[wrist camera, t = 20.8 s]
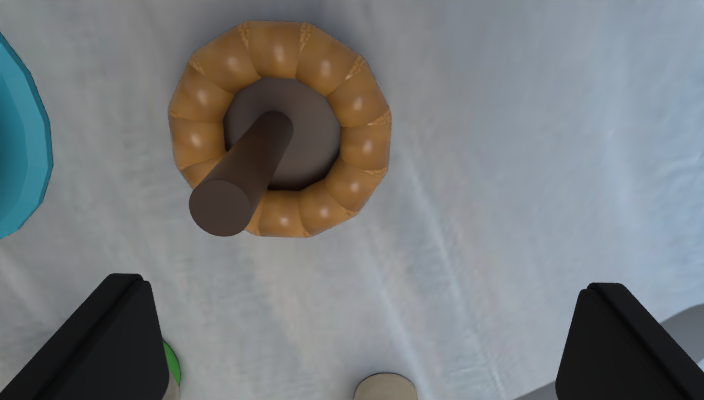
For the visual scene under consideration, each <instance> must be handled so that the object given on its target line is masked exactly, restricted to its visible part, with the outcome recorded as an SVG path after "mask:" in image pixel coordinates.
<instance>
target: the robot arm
mask: <svg viewBox="0 0 704 400" xmlns="http://www.w3.org/2000/svg"><path fill="white" fill-rule="evenodd" d="M169 379H170V373H169V368H168V363H167V358H166V354H165V349H164V344H163V339H162V335H161V330H160V325H159V321H158V316H157V311H156V307H155V302H154V297H153V292H152V288H151V284H150V283H149V281H144V280H143V278H142V276H141V275H139V274H122V273H113V274H110V275H108V276H107V277H106V278H105V279H104V280H103V282H102V283H101V284H100V285H99V286H98V287H97V288H96V289H95V290H94V291H93V292H92V294H91V295H90V296H89V297H88V298H87V299H86V300H85V301H84V302H83V303H82V304H81V306H80V307H79V308H78V309H77V310H76V311H75V312H74V313H73V314H72V315H71V316H70V317H69V319H68V320H67V321H66V322H65V323H64V324H63V325H62V326H61V327H60V328H59V329H58V331H57V332H56V333H55V334H54V335H53V336H52V337H51V338H50V339H49V340H48V341H47V343H46V344H45V345H44V346H43V347H42V348H41V349H40V350H39V351H38V352H37V353H36V355H35V356H34V357H33V358H32V359H31V360H30V361H29V362H28V363H27V364H26V365H25V367H24V368H23V369H22V370H21V371H20V372H19V373H18V374H17V375H16V376H15V377H14V378H13V380H12V381H11V382H10V383H9V384H8V385H7V386H6V387H5V388H4V389H3V390H2V392H1V393H0V400H162V399H163V397H164V395H165V393H166V390H167V388H168V385H169ZM555 388H556V394H557V397H558V400H704V372H703V371H702V370H701V369H700V368H699V367H698V365H697V364H696V363H695V362H694V361H693V360H692V359H691V358H690V357H689V356H688V355H687V354H686V352H685V351H684V350H683V349H682V348H681V347H680V346H679V345H678V344H677V343H676V342H675V340H674V339H673V338H672V337H671V336H670V335H669V334H668V333H667V332H666V331H665V330H664V328H663V327H662V326H661V325H660V324H659V323H658V322H657V321H656V320H655V319H654V317H653V316H652V315H651V314H650V313H649V312H648V311H647V310H646V309H645V308H644V307H643V306H642V304H641V303H640V302H639V301H638V300H637V299H636V298H635V297H634V296H633V295H632V294H631V292H630V291H629V290H628V289H627V288H626V287H625V286H624V285H622V284H620V283H590V284H589V285H588V287H587V289H583V290H581V291H580V293H579V295H578V299H577V303H576V307H575V310H574V314H573V318H572V322H571V325H570V329H569V333H568V337H567V340H566V344H565V348H564V352H563V355H562V359H561V363H560V367H559V370H558V374H557V378H556V383H555Z"/></svg>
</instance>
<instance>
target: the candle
mask: <svg viewBox="0 0 704 400" xmlns="http://www.w3.org/2000/svg"><path fill="white" fill-rule="evenodd" d="M354 400H418V396H417V392H416V390H415V388H414V386H413V384H412V383H411V382H410V381H409V380H407V379H406V378H404V377H402V376H399V375H396V374H390V373H382V374H376V375H373V376H370V377H368V378H367V379H365V380H364V381H362V382H361V383H360V384H359V386H358V387H357V389H356V392H355V397H354Z"/></svg>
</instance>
